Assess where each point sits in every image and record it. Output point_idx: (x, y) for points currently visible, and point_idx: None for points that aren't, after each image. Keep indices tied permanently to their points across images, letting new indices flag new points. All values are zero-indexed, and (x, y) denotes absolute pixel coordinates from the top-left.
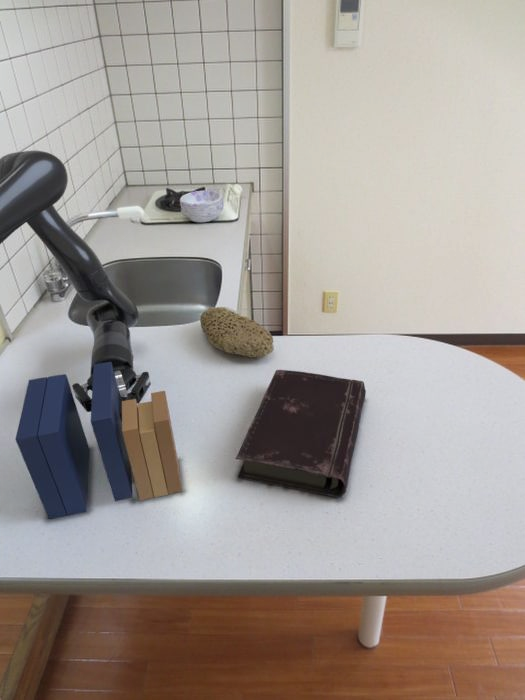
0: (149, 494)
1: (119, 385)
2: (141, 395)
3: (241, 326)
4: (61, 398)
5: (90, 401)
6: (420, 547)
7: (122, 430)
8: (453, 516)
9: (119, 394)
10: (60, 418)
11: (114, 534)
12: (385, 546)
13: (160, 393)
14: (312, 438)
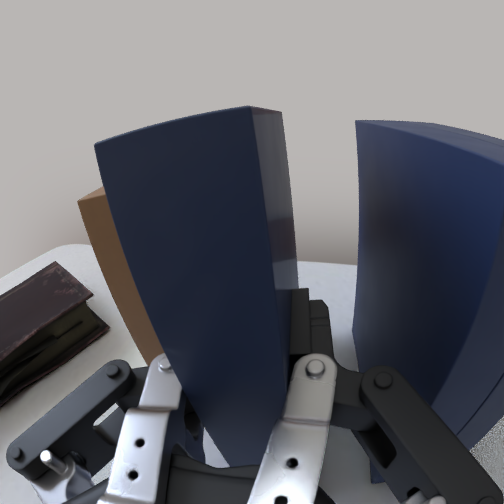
0: None
1: (156, 414)
2: (110, 420)
3: None
4: (401, 129)
5: (359, 387)
6: (74, 255)
7: None
8: (43, 266)
9: (188, 394)
10: (367, 125)
11: None
12: (86, 258)
13: (92, 195)
14: (22, 297)
